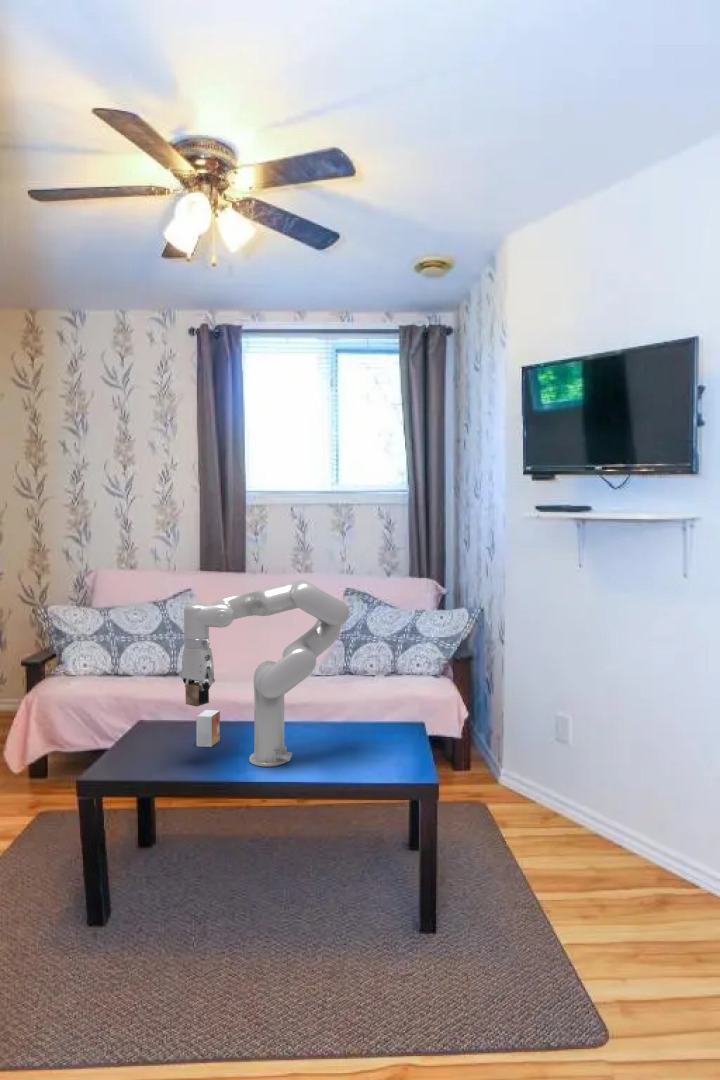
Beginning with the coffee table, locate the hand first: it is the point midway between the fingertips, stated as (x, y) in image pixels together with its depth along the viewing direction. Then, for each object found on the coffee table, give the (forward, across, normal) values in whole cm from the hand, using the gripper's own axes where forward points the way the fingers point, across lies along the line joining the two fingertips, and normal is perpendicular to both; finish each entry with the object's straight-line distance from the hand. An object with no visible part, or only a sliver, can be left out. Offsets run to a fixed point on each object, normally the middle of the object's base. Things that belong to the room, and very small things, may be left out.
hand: (197, 700), depth 209 cm
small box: (+21, +13, -17) cm, 30 cm away
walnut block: (+1, 0, 0) cm, 1 cm away
